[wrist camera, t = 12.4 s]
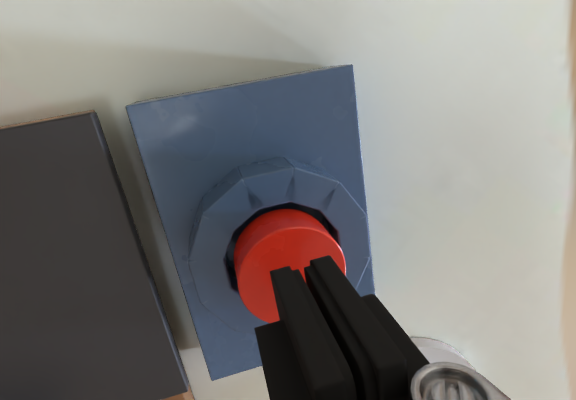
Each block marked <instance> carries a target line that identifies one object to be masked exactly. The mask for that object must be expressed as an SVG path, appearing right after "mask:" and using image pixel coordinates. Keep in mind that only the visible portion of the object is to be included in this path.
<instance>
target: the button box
mask: <svg viewBox="0 0 576 400" xmlns="http://www.w3.org/2000/svg"><path fill="white" fill-rule="evenodd" d="M126 110H127V113H128V116H129V120H130V123H131V126H132V129H133V132H134V136H135V139H136V142H137V145H138V148H139V151H140V155H141V158H142V161H143V164H144V167H145V171H146V174H147V177H148V180H149V183H150V186H151V190H152V193H153V196H154V199H155V202H156V206H157V209H158V212H159V215H160V218H161V221H162V225H163V228H164V231H165V234H166V237H167V241H168V244H169V247H170V250H171V253H172V256H173V260H174V263H175V266H176V269H177V272H178V276H179V279H180V282H181V285H182V288H183V291H184V295H185V298H186V301H187V304H188V307H189V310H190V314H191V317H192V320H193V323H194V326H195V330H196V333H197V336H198V339H199V342H200V345H201V349H202V352H203V355H204V358H205V361H206V365H207V368H208V371H209V374H210V377H211V380H212V381H213V380H217V379H220V378H223V377H226V376H230V375H233V374H236V373H239V372H243V371H246V370H249V369H252V368H256V367H259V366H262V361H261V357H260V352H259V348H258V343H257V339H256V334H255V330H254V328H256V327H259V326H262V325H266V324H269V323H268V322H265V321H263V320H261V319H259V318H257V317H256V316H255V315H253V314H252V313H251V312H250V311H249V310H248V309H247V308H246V306H245V305H244V303H243V301H242V300H241V297H240V294H239V290H238V285H237V279H236V274H235V268H234V263H233V255H234V249H235V245H236V242H237V240H238V238H239V236H240V234H241V233H242V231H243V230H244V229H245V227H246V226H247V225H248V224H249V223H250V222H252V221H253V220H254V219H256V218H257V217H259V216H261V215H262V214H265V213H267V212H270V211H273V210H278V209H296V210H301V211H303V212H306V213H308V214H310V215H312V216H313V217H315V218H316V219H317V220H318V221H319V222H320V223H321V224H322V225H323V226H324V228H325V229H326V230H327V231H328V232H329V234H330V235H331V236H332V237H333V238H334V240H335V241H336V242H337V243H338V245H339V246H340V248H341V250H342V252H343V254H344V257H345V262H346V277H347V279H348V280H349V282H350V283H351V284H352V286H353V287H354V288H355V290H356V291H357V292H358V294H359V295H360V297H362V296H365V295H368V294H374V295H375V288H374V278H373V267H372V257H371V247H370V237H369V226H368V216H367V206H366V196H365V185H364V175H363V165H362V154H361V144H360V134H359V124H358V113H357V103H356V93H355V83H354V72H353V65H352V64H351V65H339V66H330V67H324V68H319V69H313V70H308V71H302V72H297V73H291V74H286V75H280V76H275V77H270V78H264V79H259V80H253V81H248V82H242V83H237V84H231V85H226V86H220V87H215V88H209V89H204V90H198V91H193V92H188V93H182V94H177V95H171V96H166V97H160V98H155V99H149V100H144V101H138V102H135V103H132V104H130V105H127V106H126Z"/></svg>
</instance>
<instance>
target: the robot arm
mask: <svg viewBox="0 0 576 400" xmlns="http://www.w3.org/2000/svg"><path fill="white" fill-rule="evenodd" d="M304 274H305V280H306V282H305V280H304V278H303V276H302V274H301V272H300V271H299V269H296V270H292V269H291V267H290V266H286V267H283V268H279V269H275V270H272V271H270V276H271V281H272V286H273V290H274V295H275V300H276V305H277V309H278V314H279V319H280V320H279V321H276V322H273V323H269V324H266V325H262V326H259V327H256V328H254V330H255V334H256V339H257V343H258V348H259V352H260V357H261V361H262V366H263V370H264V374H265V379H266V383H267V388H268V392H269V397H270V400H511V399H510V398H509V397H507V396H506V395H505V394H504V393H503V392H501V391H500V390H499V389H498V388H497V387H495V386H494V385H493V384H492V383H491V382H489V381H488V380H487V379H486V378H485V377H483V376H482V375H481V374H479V373H478V372H476V371H475V370H473V369H471V368H469V367H466V366H464V365H461V364H458V363H452V362H434V363H431V364H430V363H429V361H428V360H427V359H426V358H425V356H424V355H423V354H422V353H421V351H420V350H419V349H418V348H417V346H416V345H415V344H414V343H413V341H412V340H411V339H410V338H409V336H408V335H407V334H406V333H405V332H404V330H403V329H402V328H401V327H400V325H399V324H398V323H397V322H396V320H395V319H394V318H393V317H392V315H391V314H390V313H389V312H388V310H387V309H386V308H385V307H384V305H383V304H382V303H381V302H380V300H379V299H378V298H377V297H376V296H375V295H374V294H368V295H365V296H362V297H360V295H359V294H358V292H357V291H356V290H355V288H354V287H353V286H352V284H351V283H350V282H349V280H348V279H347V277H346V276H345V275H344V273H343V272H342V271H341V269H340V268H339V267H338V265H337V264H336V262H335V261H334V260H333V258H332V257H331V256H330V255H327V256H324V257H320V258H316V259H313V260H310V266H307V267H304Z"/></svg>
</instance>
